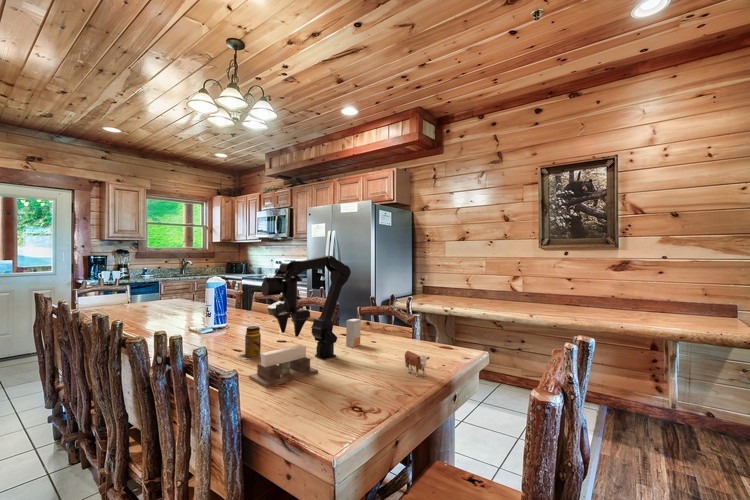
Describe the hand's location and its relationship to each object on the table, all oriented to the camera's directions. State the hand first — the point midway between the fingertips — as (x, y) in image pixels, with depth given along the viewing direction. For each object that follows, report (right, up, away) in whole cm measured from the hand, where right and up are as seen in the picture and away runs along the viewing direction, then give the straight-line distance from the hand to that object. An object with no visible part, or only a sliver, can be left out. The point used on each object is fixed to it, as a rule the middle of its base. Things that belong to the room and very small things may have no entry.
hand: (289, 334), depth 132 cm
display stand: (+1, -12, -11) cm, 16 cm away
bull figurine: (+47, -12, -9) cm, 50 cm away
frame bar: (+1, -7, -11) cm, 13 cm away
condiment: (-19, -12, +12) cm, 25 cm away
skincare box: (+22, -13, +29) cm, 39 cm away
